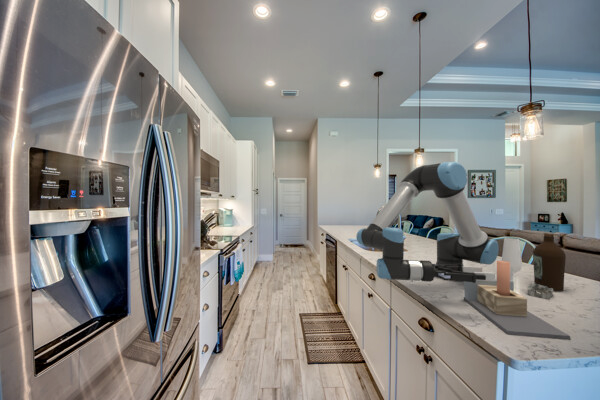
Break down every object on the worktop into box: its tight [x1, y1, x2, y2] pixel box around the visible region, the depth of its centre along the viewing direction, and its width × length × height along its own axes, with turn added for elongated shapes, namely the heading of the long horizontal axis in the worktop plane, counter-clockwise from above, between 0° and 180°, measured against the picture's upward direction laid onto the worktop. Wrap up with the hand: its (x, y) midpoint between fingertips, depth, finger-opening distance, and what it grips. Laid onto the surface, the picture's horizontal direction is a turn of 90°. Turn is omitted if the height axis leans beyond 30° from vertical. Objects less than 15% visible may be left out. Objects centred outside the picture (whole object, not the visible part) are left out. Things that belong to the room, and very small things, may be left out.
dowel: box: [496, 260, 510, 296], centre depth 87 cm, size 4×4×16 cm
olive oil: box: [532, 232, 567, 292], centre depth 113 cm, size 11×11×25 cm
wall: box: [463, 278, 515, 301], centre depth 95 cm, size 2×16×8 cm, turn 81°
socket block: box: [477, 285, 528, 317], centre depth 88 cm, size 12×9×6 cm
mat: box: [463, 297, 571, 340], centre depth 84 cm, size 26×16×1 cm, turn 171°
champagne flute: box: [501, 237, 523, 282], centre depth 102 cm, size 7×7×24 cm
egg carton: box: [525, 282, 554, 300], centre depth 104 cm, size 11×8×4 cm
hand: (487, 273), depth 88 cm, fingers open, 7 cm apart
